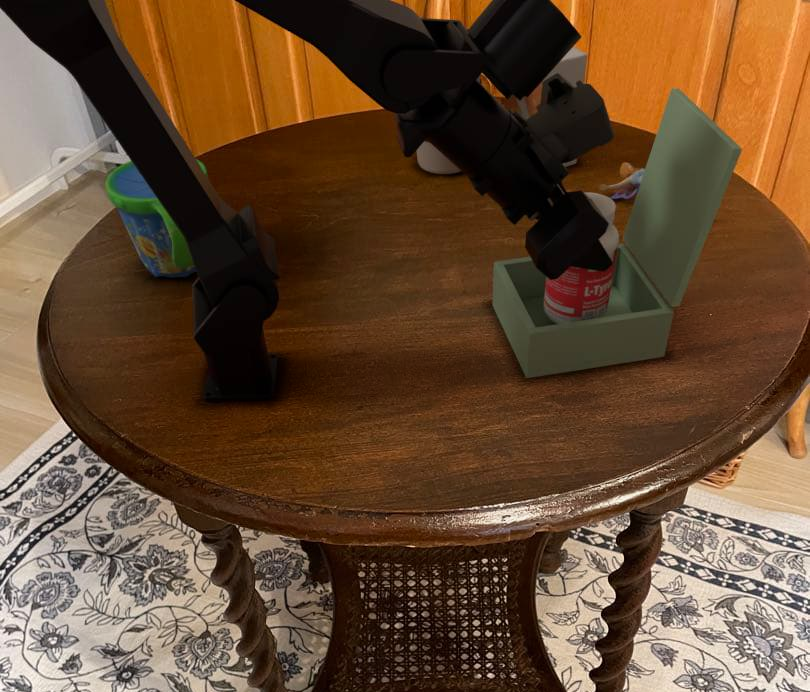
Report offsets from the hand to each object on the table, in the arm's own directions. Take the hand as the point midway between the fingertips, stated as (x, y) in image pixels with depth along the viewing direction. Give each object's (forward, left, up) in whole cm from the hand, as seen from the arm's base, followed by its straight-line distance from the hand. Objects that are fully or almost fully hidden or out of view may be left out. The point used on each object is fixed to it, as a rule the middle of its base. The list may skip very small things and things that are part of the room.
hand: (596, 249), depth 79 cm
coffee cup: (+38, +13, -9) cm, 41 cm away
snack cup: (+16, +44, -9) cm, 47 cm away
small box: (+38, +1, -9) cm, 39 cm away
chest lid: (+1, -6, +4) cm, 8 cm away
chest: (0, +1, -9) cm, 9 cm away
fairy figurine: (+24, -11, -9) cm, 28 cm away
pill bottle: (0, +1, -7) cm, 7 cm away
